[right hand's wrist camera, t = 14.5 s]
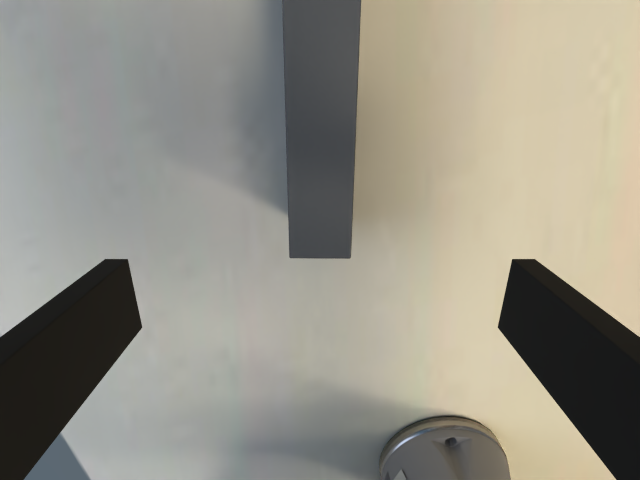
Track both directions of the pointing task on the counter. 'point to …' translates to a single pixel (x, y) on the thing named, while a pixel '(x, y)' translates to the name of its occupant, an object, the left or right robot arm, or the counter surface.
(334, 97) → the beam
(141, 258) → the counter surface
